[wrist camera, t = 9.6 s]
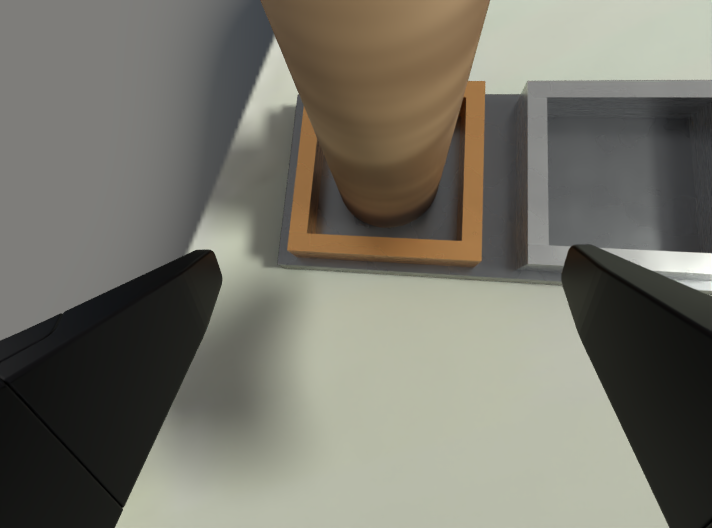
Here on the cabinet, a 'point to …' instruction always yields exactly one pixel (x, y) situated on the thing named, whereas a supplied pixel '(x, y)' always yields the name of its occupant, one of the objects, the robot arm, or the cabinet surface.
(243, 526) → the cabinet surface
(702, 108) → the tray
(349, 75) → the post
